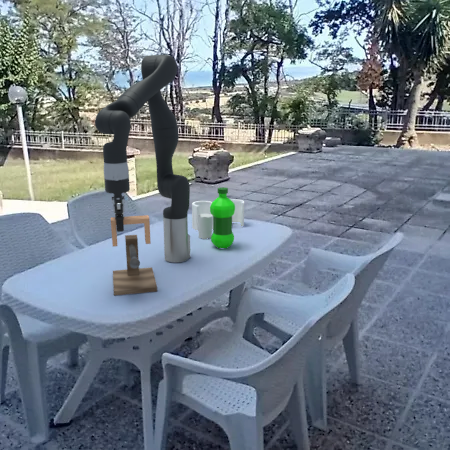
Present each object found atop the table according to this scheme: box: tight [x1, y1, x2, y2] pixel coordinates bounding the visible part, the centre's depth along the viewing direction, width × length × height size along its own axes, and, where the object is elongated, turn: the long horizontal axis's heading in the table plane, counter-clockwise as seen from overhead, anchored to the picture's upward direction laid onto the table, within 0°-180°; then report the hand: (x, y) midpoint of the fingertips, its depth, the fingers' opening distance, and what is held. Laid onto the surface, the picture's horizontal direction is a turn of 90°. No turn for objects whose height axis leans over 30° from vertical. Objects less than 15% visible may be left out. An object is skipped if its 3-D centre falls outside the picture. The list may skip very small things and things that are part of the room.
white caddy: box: [191, 198, 245, 231], centre depth 227 cm, size 25×10×12 cm, turn 104°
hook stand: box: [112, 234, 158, 296], centre depth 159 cm, size 24×14×15 cm, turn 14°
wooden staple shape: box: [110, 214, 151, 247], centre depth 154 cm, size 12×4×8 cm, turn 103°
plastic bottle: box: [210, 186, 235, 249], centre depth 197 cm, size 10×10×25 cm
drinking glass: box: [197, 214, 213, 240], centre depth 211 cm, size 7×7×10 cm
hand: (120, 228), depth 153 cm, fingers closed on wooden staple shape, 4 cm apart
